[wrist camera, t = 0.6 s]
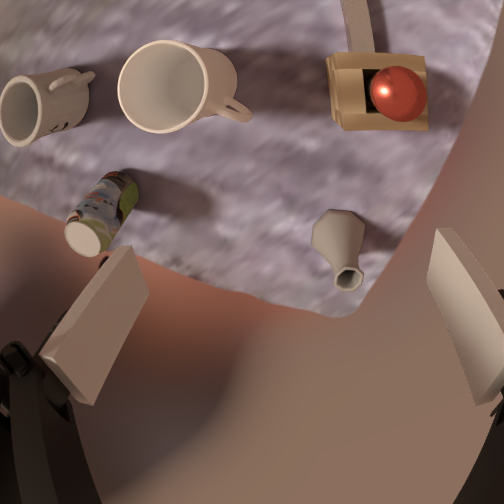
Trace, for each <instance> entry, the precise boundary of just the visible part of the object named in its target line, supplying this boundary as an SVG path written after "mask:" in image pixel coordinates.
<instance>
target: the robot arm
mask: <svg viewBox="0 0 504 504" xmlns="http://www.w3.org/2000/svg"><path fill="white" fill-rule="evenodd" d="M426 283H427V285H428V287H429V289H430V291H431V293H432V295H433V298H434V299H435V301H436V304H437V306H438V308H439V310H440V313H441V315H442V317H443V320H444V322H445V324H446V326H447V329H448V331H449V333H450V336H451V339H452V341H453V343H454V346H455V349H456V351H457V354H458V356H459V359H460V362H461V364H462V367H463V370H464V373H465V376H466V378H467V381H468V384H469V387H470V390H471V393H472V396H473V400H474V403H475V406H477V405H480V404H484V403H487V402H490V401H493V400H494V399H495V397H496V396H497V395H498V394H499V392H500V391H501V393H502V395H503V399H502V400H501V402H500V403H499V404H498V405H497V407H496V408H495V409H494V410H493V411H492V413H491V415H490V416H491V417H492V416H493V415H494V414H495V413H496V415H495V418H494V421H493V423H492V426H491V429H490V431H489V433H488V436H487V438H486V440H485V443H484V445H483V447H482V450H481V452H480V454H479V456H478V458H477V460H476V462H475V464H474V466H473V468H472V470H471V472H470V474H469V476H468V478H467V480H466V482H465V484H464V485H463V487H462V489H461V491H460V492H459V494H458V496H457V498H456V499H455V501H454V503H453V504H504V290H503V289H501V290H497V289H496V287H495V286H494V284H493V283H492V281H491V280H490V278H489V277H488V276H487V274H486V272H485V271H484V270H483V268H482V267H481V265H480V264H479V263H478V261H477V260H476V259H475V257H474V256H473V255H472V253H471V252H470V250H469V249H468V248H467V247H466V245H465V244H464V243H463V241H462V240H461V239H460V238H459V236H458V235H457V234H456V233H455V231H454V230H453V229H452V228H450V227H449V228H436V233H435V239H434V245H433V250H432V255H431V260H430V265H429V269H428V274H427V278H426ZM149 294H150V292H149V290H148V287H147V284H146V282H145V279H144V277H143V274H142V272H141V269H140V267H139V264H138V261H137V258H136V256H135V253H134V250H133V248H132V245H131V246H118V247H117V249H116V250H115V251H114V252H113V253H112V255H111V256H110V257H109V258H108V260H107V261H106V262H105V263H104V265H103V266H102V267H101V268H100V270H99V271H98V272H97V273H96V275H95V276H94V277H93V278H92V280H91V281H90V282H89V284H88V285H87V286H86V288H85V289H84V290H83V292H82V293H81V294H80V296H79V297H78V298H77V300H76V301H75V303H74V304H73V305H72V306H71V307H70V308H69V309H68V310H67V311H65V312H64V313H63V314H62V315H61V316H60V318H59V319H58V321H57V322H56V325H54V326H53V328H52V329H51V332H49V334H48V335H47V336H46V338H45V339H44V341H43V342H42V344H41V345H40V347H39V348H38V350H37V351H36V353H35V355H34V356H33V357H32V356H31V355H30V353H29V352H28V351H27V349H26V348H25V347H24V345H23V344H22V343H21V342H20V341H13V342H10V343H9V344H7V345H5V347H4V348H3V349H2V350H1V352H0V364H1V365H2V367H3V368H4V369H5V370H4V369H3V368H2V367H1V365H0V405H1V406H2V407H3V408H4V409H5V410H6V411H7V412H8V415H7V417H5V416H4V415H3V414H2V413H1V412H0V504H102V503H101V500H100V498H99V495H98V492H97V490H96V487H95V484H94V482H93V479H92V476H91V473H90V470H89V467H88V464H87V461H86V458H85V454H84V451H83V448H82V444H81V441H80V437H79V433H78V429H77V425H76V421H75V417H74V413H73V408H72V404H71V402H70V401H69V399H68V396H69V394H70V393H71V394H72V395H73V396H74V397H75V398H76V400H77V401H79V402H82V403H85V404H89V405H92V406H93V405H94V402H95V400H96V398H97V396H98V393H99V392H100V390H101V387H102V385H103V383H104V381H105V379H106V377H107V375H108V373H109V371H110V369H111V367H112V365H113V363H114V361H115V359H116V357H117V355H118V353H119V351H120V349H121V347H122V345H123V343H124V341H125V339H126V337H127V335H128V333H129V331H130V329H131V327H132V326H133V324H134V322H135V320H136V318H137V316H138V314H139V312H140V311H141V309H142V307H143V305H144V303H145V301H146V299H147V298H148V296H149Z"/></svg>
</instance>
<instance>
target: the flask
mask: <svg viewBox="0 0 504 504" xmlns="http://www.w3.org/2000/svg"><path fill="white" fill-rule="evenodd" d="M364 230H365V224H364V223H363V222H362V221H361V220H360V219H359V218H357V217H356V216H355V215H354V214H353V213H352V212H350V211H339V210H327V211H326V212H325V213H324V214H323V215H322V217H321V218H320V219H319V220H318V221H317V222H316V223H315V224H314V225H313V231H312V242H311V245H312V246H313V247H314V248H315V249H316V250H317V251H318V252H319V253H320V254H321V255H322V256H323V257H324V258H325V259H326V260H327V261H328V263H329V264H330V265H331V267H332V269H333V271H334V273H335V279H334V285H335V286H336V287H337V288H339V289H340V290H341V291H355V290H356V289H357V288H358V287H359V286H360V285H362V282H363V277H364V273H363V272H362V271H361V270H360V269H359V265H358V256H359V252H360V249H361V246H362V241H363V236H364Z"/></svg>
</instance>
